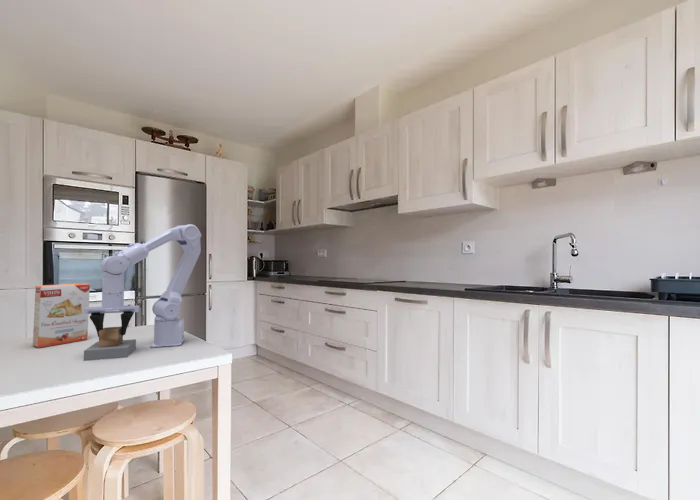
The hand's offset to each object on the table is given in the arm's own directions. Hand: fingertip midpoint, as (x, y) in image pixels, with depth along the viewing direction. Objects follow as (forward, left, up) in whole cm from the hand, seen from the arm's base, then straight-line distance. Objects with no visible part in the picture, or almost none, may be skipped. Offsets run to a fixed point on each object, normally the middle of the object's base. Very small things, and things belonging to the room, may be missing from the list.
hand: (112, 335), depth 105 cm
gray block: (0, 0, -6) cm, 6 cm away
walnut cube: (0, 0, -3) cm, 3 cm away
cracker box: (+21, -20, -6) cm, 30 cm away
